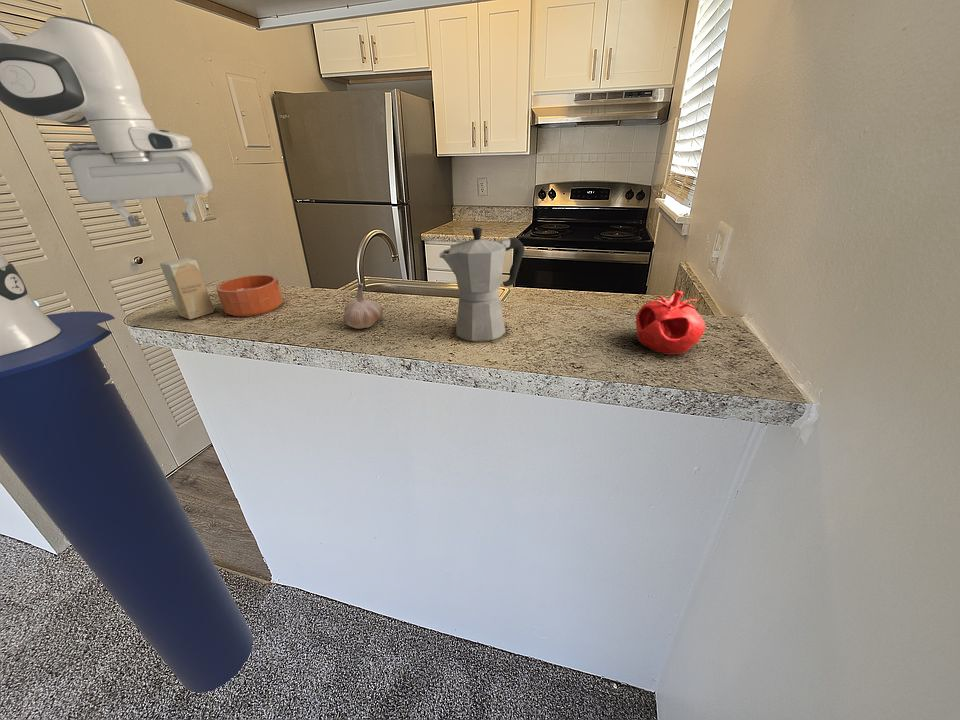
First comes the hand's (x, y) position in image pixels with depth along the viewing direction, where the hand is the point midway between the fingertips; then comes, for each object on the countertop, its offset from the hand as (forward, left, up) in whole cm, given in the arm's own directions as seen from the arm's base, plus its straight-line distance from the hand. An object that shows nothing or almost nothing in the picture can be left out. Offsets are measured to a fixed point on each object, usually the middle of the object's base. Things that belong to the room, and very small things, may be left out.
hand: (163, 223), depth 76 cm
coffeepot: (+55, -28, -18) cm, 64 cm away
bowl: (+11, -1, -18) cm, 21 cm away
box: (0, -1, -18) cm, 18 cm away
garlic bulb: (+34, -18, -18) cm, 43 cm away
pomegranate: (+81, -43, -18) cm, 93 cm away
